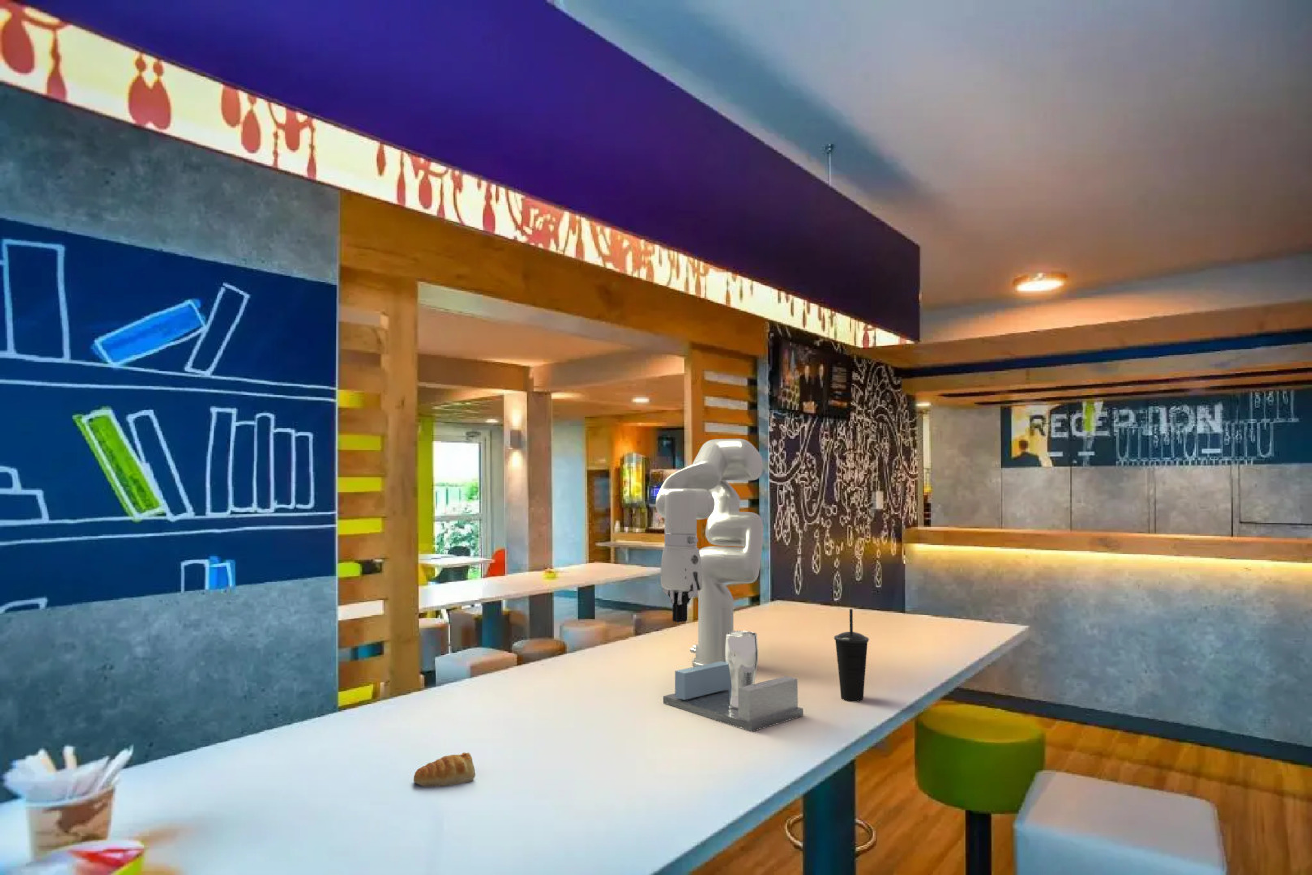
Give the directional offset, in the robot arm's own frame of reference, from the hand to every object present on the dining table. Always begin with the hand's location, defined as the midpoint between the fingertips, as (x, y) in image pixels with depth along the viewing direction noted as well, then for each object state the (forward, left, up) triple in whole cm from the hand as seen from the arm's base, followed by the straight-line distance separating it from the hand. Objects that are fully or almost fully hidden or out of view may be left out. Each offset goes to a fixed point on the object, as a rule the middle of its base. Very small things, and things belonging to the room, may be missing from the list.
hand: (679, 621), depth 176 cm
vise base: (+16, 0, -17) cm, 23 cm away
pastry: (+13, -63, -17) cm, 67 cm away
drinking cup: (+28, +27, -17) cm, 43 cm away
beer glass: (+19, 0, -15) cm, 24 cm away
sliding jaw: (+7, 0, -15) cm, 17 cm away
